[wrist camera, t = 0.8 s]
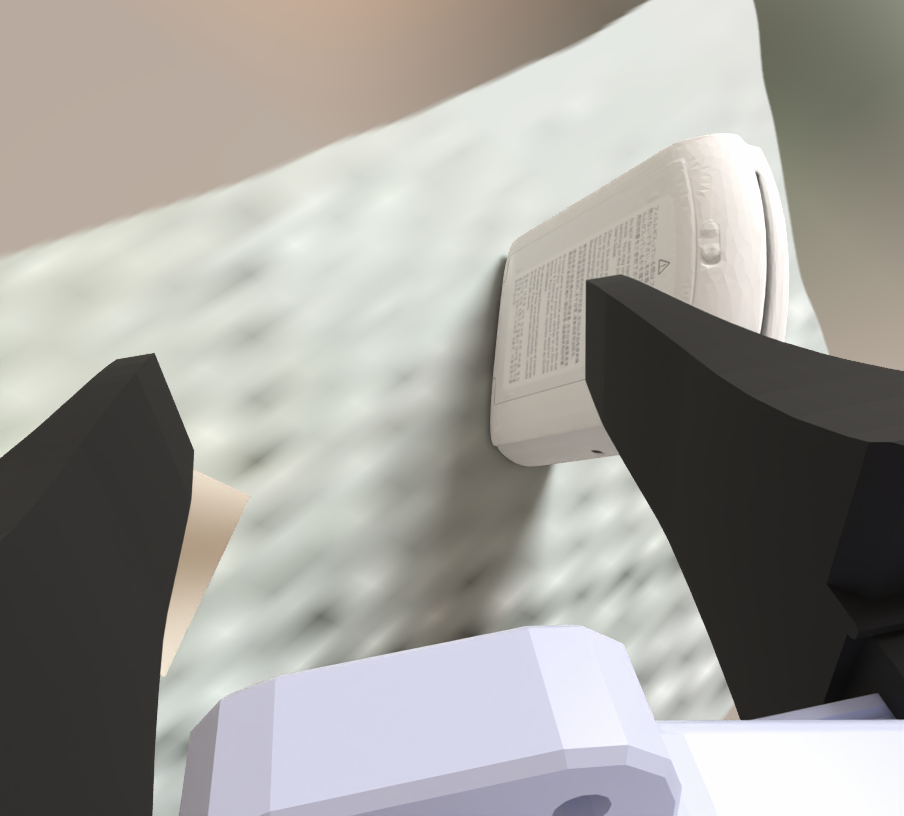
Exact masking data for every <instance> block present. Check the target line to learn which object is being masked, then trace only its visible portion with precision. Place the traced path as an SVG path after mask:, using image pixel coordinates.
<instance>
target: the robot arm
mask: <svg viewBox="0 0 904 816" xmlns="http://www.w3.org/2000/svg"><path fill="white" fill-rule="evenodd" d="M585 381H586V384H587V387H588V389H589V392H590V394H591V397H592V400H593V402H594V405H595V407H596V410H597V412H598V415H599V417H600V420H601V422H602V424H603V426H604V428H605V430H606V432H607V434H608V435H609V437H610V439H611V441H612V442H613V444H614V446H615V448H616V449H617V451H618V453H619V455H620V456H621V458H622V460H623V461H624V463H625V465H626V467H627V468H628V470H629V472H630V473H631V475H632V477H633V478H634V480H635V482H636V484H637V485H638V487H639V489H640V490H641V492H642V494H643V496H644V497H645V499H646V501H647V502H648V504H649V506H650V507H651V509H652V511H653V513H654V514H655V516H656V518H657V519H658V521H659V523H660V525H661V527H662V529H663V531H664V533H665V535H666V537H667V539H668V541H669V543H670V545H671V547H672V550H673V552H674V554H675V556H676V559H677V561H678V563H679V566H680V568H681V570H682V572H683V575H684V577H685V579H686V582H687V584H688V586H689V589H690V591H691V593H692V596H693V598H694V601H695V603H696V606H697V608H698V611H699V613H700V615H701V618H702V620H703V623H704V625H705V628H706V630H707V632H708V635H709V637H710V640H711V643H712V645H713V648H714V650H715V653H716V656H717V658H718V661H719V664H720V666H721V669H722V671H723V674H724V677H725V679H726V682H727V685H728V687H729V690H730V692H731V695H732V698H733V700H734V703H735V706H736V709H737V712H738V715H739V717H740V720H687V721H655V720H654V717H653V715H652V712H651V710H650V708H649V705H648V703H647V700H646V698H645V695H644V693H643V691H642V688H641V686H640V683H639V681H638V679H637V676H636V674H635V671H634V669H633V666H632V664H631V662H630V659H629V657H628V654H627V652H626V650H625V647H624V645H623V644H622V643H620V642H618V641H615V640H613V639H611V638H609V637H606V636H604V635H602V634H600V633H597V632H595V631H593V630H591V629H588V628H586V627H583V626H579V625H550V626H524V627H519V628H514V629H509V630H504V631H499V632H494V633H489V634H484V635H479V636H474V637H469V638H464V639H459V640H454V641H450V642H445V643H440V644H435V645H430V646H425V647H420V648H415V649H410V650H405V651H400V652H395V653H390V654H385V655H380V656H375V657H370V658H365V659H360V660H355V661H350V662H345V663H340V664H335V665H330V666H325V667H320V668H315V669H310V670H305V671H300V672H295V673H290V674H285V675H280V676H277V677H274V678H271V679H269V680H266V681H264V682H261V683H258V684H256V685H253V686H250V687H248V688H245V689H243V690H240V691H237V692H235V693H232V694H230V695H228V696H226V697H225V698H223V699H221V700H220V701H219V702H218V703H217V704H216V705H215V706H214V707H213V709H212V710H211V711H210V712H209V713H208V714H207V715H206V716H205V717H204V718H203V719H202V720H201V721H200V723H199V724H198V725H197V726H196V727H195V728H194V729H193V730H192V731H191V732H190V740H189V747H188V754H187V761H186V769H185V776H184V783H183V790H182V797H181V805H180V812H179V816H904V371H900V370H893V369H888V368H884V367H879V366H874V365H869V364H864V363H860V362H855V361H851V360H846V359H842V358H838V357H834V356H830V355H826V354H822V353H819V352H815V351H812V350H808V349H805V348H802V347H798V346H795V345H792V344H788V343H785V342H782V341H779V340H776V339H773V338H770V337H767V336H764V335H761V334H759V333H756V332H754V331H751V330H748V329H746V328H743V327H741V326H738V325H736V324H733V323H730V322H728V321H726V320H723V319H721V318H719V317H716V316H714V315H712V314H709V313H707V312H705V311H703V310H700V309H698V308H696V307H694V306H692V305H689V304H687V303H685V302H683V301H681V300H679V299H677V298H675V297H672V296H670V295H668V294H666V293H664V292H662V291H660V290H658V289H655V288H653V287H651V286H649V285H647V284H645V283H642V282H640V281H638V280H636V279H633V278H631V277H628V276H625V275H622V274H619V275H613V276H607V277H601V278H595V279H589V280H586V322H585ZM193 462H194V449H193V447H192V444H191V442H190V439H189V437H188V435H187V432H186V430H185V427H184V425H183V422H182V420H181V417H180V415H179V412H178V410H177V407H176V405H175V402H174V400H173V398H172V395H171V393H170V390H169V388H168V385H167V383H166V380H165V378H164V375H163V373H162V370H161V368H160V366H159V363H158V361H157V358H156V356H155V353H152V354H146V355H140V356H134V357H128V358H122V359H117V360H115V361H114V362H112V363H111V364H109V365H108V366H107V367H105V368H104V369H103V370H102V371H101V372H99V373H98V374H97V375H96V376H95V377H93V378H92V379H91V380H90V381H89V382H88V383H87V384H86V385H84V386H83V387H82V388H81V389H80V390H79V391H78V392H77V393H76V394H74V395H73V396H72V397H71V398H70V399H69V400H68V401H67V402H66V403H64V404H63V405H62V406H61V407H60V408H59V409H58V410H57V411H56V412H54V413H53V414H52V415H51V416H50V417H49V418H48V419H47V420H45V421H44V422H43V423H42V424H41V425H40V426H39V427H38V428H36V429H35V430H34V431H33V432H32V433H30V434H29V435H28V436H27V437H26V438H24V439H23V440H22V441H21V442H20V443H18V444H17V445H16V446H15V447H13V448H12V449H11V450H10V451H9V452H7V453H6V454H5V455H4V456H3V457H1V458H0V816H152V811H153V784H154V757H155V740H156V724H157V709H158V693H159V682H160V672H161V661H162V650H163V639H164V633H165V627H166V621H167V614H168V609H169V605H170V600H171V596H172V591H173V586H174V582H175V577H176V572H177V568H178V563H179V559H180V554H181V549H182V545H183V540H184V535H185V530H186V526H187V521H188V516H189V511H190V505H191V500H192V485H193Z"/></svg>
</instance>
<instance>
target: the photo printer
mask: <svg viewBox="0 0 904 816" xmlns="http://www.w3.org/2000/svg"><path fill="white" fill-rule="evenodd" d="M619 274H622V275H625V276H628V277H631V278H633V279H636V280H638V281H640V282H642V283H645V284H647V285H649V286H651V287H653V288H655V289H658V290H660V291H662V292H664V293H666V294H668V295H670V296H672V297H675V298H677V299H679V300H681V301H683V302H685V303H687V304H689V305H692V306H694V307H696V308H698V309H700V310H703V311H705V312H707V313H709V314H712V315H714V316H716V317H719V318H721V319H723V320H726V321H728V322H730V323H733V324H736V325H738V326H741V327H743V328H746V329H748V330H751V331H754V332H756V333H759V334H761V335H764V336H767V337H770V338H773V339H776V340H779V341H782V342H784V339H785V333H786V324H787V313H788V298H789V260H788V246H787V236H786V227H785V220H784V215H783V210H782V206H781V201H780V197H779V193H778V189H777V187H776V184H775V181H774V178H773V175H772V172H771V170H770V167H769V165H768V162H767V160H766V158H765V156H764V154H763V152H762V150H761V149H760V148H759V147H754V146H751V145H748V144H746V143H745V142H744V141H743V140H742V139H741V137H740V136H739V135H736V134H709V135H703V136H698V137H693V138H690V139H686V140H683V141H680V142H677V143H675V144H673V145H671V146H669V147H667V148H665V149H664V150H662V151H660V152H659V153H657V154H655V155H654V156H652V157H651V158H649V159H647V160H646V161H644V162H642V163H641V164H639V165H637V166H636V167H634V168H632V169H631V170H629V171H628V172H626V173H624V174H623V175H621V176H619V177H618V178H616V179H614V180H613V181H611V182H610V183H608V184H606V185H605V186H603V187H601V188H600V189H598V190H597V191H595V192H593V193H592V194H590V195H588V196H587V197H585V198H583V199H582V200H580V201H578V202H577V203H575V204H573V205H572V206H570V207H568V208H567V209H565V210H564V211H562V212H560V213H559V214H557V215H555V216H553V217H552V218H550V219H549V220H547V221H545V222H543V223H542V224H540V225H538V226H537V227H535V228H534V229H532V230H530V231H528V232H527V233H525V234H524V235H522V236H521V237H519V238H518V239H517V240H516V241H514V243H513V244H512V246H511V248H510V250H509V253H508V257H507V261H506V265H505V270H504V277H503V285H502V294H501V302H500V312H499V320H498V330H497V340H496V350H495V362H494V371H493V382H492V396H491V414H490V430H491V441H492V444H493V445H494V446H498V449H499V451H500V452H501V453H502V454H503V455H504V456H505V457H507V458H508V459H509V460H511V461H512V462H514V463H517V464H519V465H523V466H528V467H532V466H542V465H550V464H557V463H564V462H572V461H579V460H586V459H593V458H601V457H608V456H615V455H619V453H618V451H617V449H616V448H615V446H614V444H613V442H612V441H611V439H610V437H609V435H608V434H607V432H606V430H605V428H604V426H603V424H602V422H601V420H600V417H599V415H598V412H597V410H596V407H595V405H594V402H593V400H592V397H591V394H590V392H589V389H588V387H587V384H586V381H585V322H586V280H589V279H595V278H601V277H607V276H613V275H619Z"/></svg>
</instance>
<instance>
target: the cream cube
mask: <svg viewBox="0 0 904 816" xmlns="http://www.w3.org/2000/svg"><path fill="white" fill-rule="evenodd" d="M249 498H250V496H249V495H247V494H245V493H243V492H241V491H239V490H236V489H234V488H232V487H230V486H228V485H226V484H223V483H221V482H219V481H217V480H215V479H213V478H210V477H208V476H206V475H204V474H202V473H200V472H197V471H195V470H193V485H192V500H191V505H190V511H189V516H188V521H187V526H186V530H185V535H184V540H183V545H182V549H181V554H180V559H179V563H178V568H177V572H176V577H175V582H174V586H173V591H172V596H171V600H170V605H169V609H168V614H167V621H166V627H165V633H164V639H163V650H162V661H161V672H160V675H162V676H164V677H165V675H166V673H167V671H168V669H169V667H170V665H171V663H172V661H173V658H174V656H175V654H176V652H177V650H178V648H179V646H180V644H181V642H182V639H183V637H184V635H185V633H186V631H187V629H188V627H189V625H190V623H191V620H192V618H193V616H194V614H195V612H196V610H197V608H198V606H199V604H200V601H201V599H202V597H203V595H204V593H205V591H206V589H207V587H208V585H209V582H210V580H211V578H212V576H213V574H214V572H215V570H216V568H217V566H218V563H219V561H220V559H221V557H222V555H223V553H224V551H225V549H226V547H227V544H228V542H229V540H230V538H231V536H232V534H233V532H234V530H235V527H236V525H237V523H238V521H239V519H240V517H241V515H242V513H243V511H244V508H245V506H246V504H247V502H248V500H249Z"/></svg>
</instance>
